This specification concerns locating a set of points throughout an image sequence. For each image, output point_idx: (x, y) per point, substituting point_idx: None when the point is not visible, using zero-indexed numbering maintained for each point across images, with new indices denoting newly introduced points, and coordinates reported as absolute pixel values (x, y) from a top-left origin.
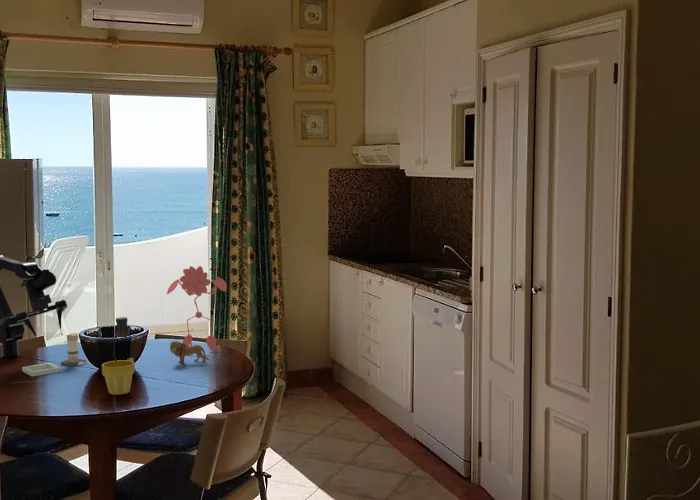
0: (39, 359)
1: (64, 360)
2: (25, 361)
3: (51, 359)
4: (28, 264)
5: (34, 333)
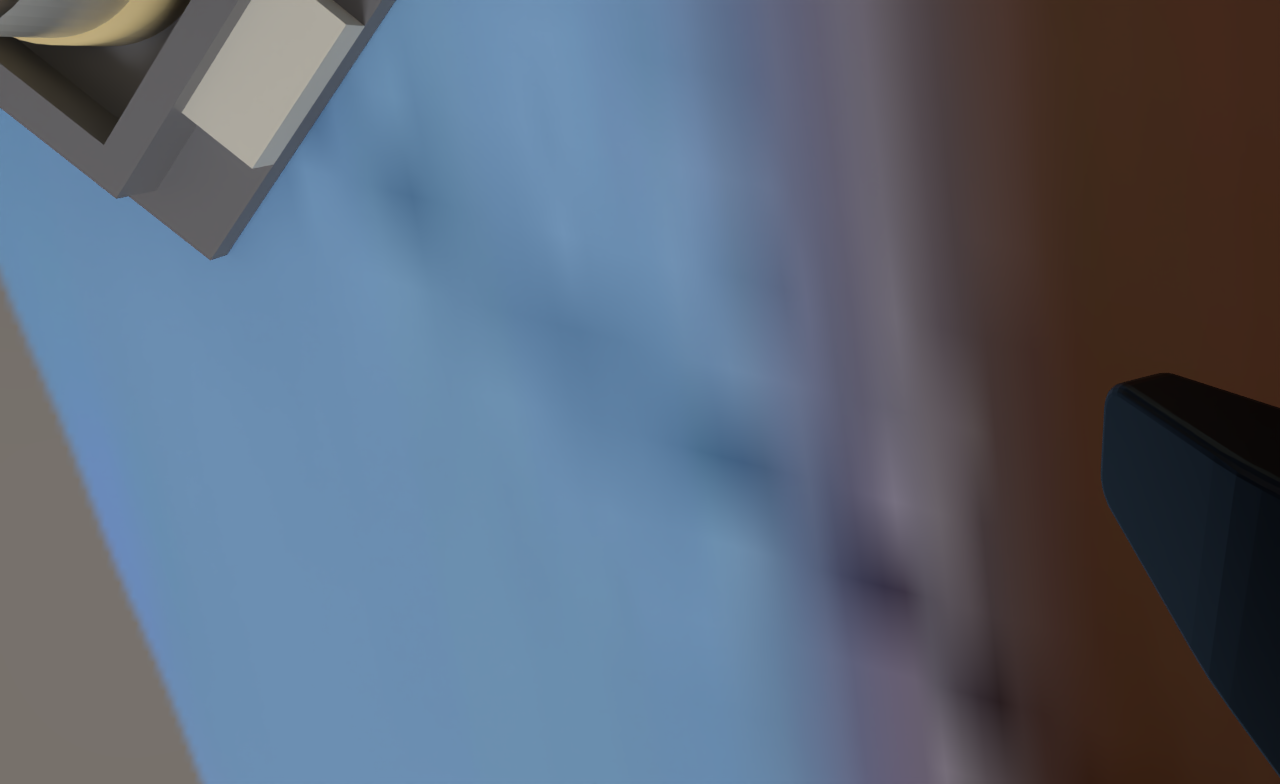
0: (943, 668)
1: (297, 84)
2: None
3: (692, 601)
4: None
5: (1268, 430)
